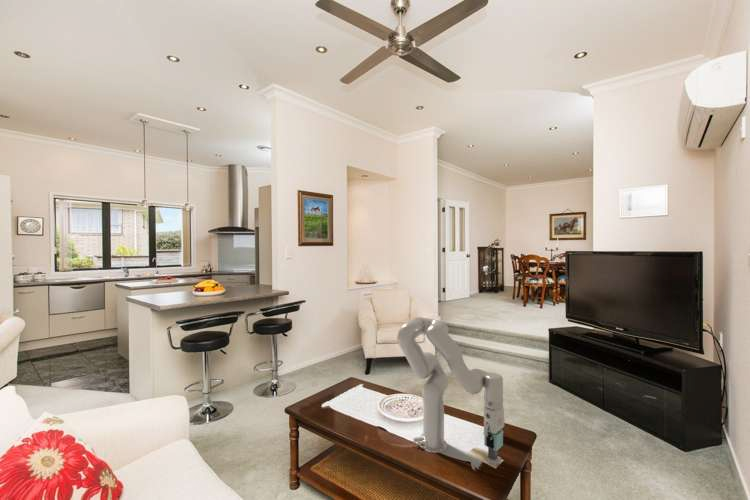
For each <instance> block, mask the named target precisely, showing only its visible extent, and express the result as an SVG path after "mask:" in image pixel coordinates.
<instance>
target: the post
mask: <svg viewBox="0 0 750 500" xmlns="http://www.w3.org/2000/svg"><path fill="white" fill-rule="evenodd" d="M487 448H488V451H487V452H488V455H487V456H486V457H485V461H487V462H489V463H491V464H493V465H495V466H496V465H497V464H498V463H499V462H500V461H501V459H502V457H501V456H498V453H499V449H498V450H497V451H496V450H493V449H491V448H489V447H487Z"/></svg>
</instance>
